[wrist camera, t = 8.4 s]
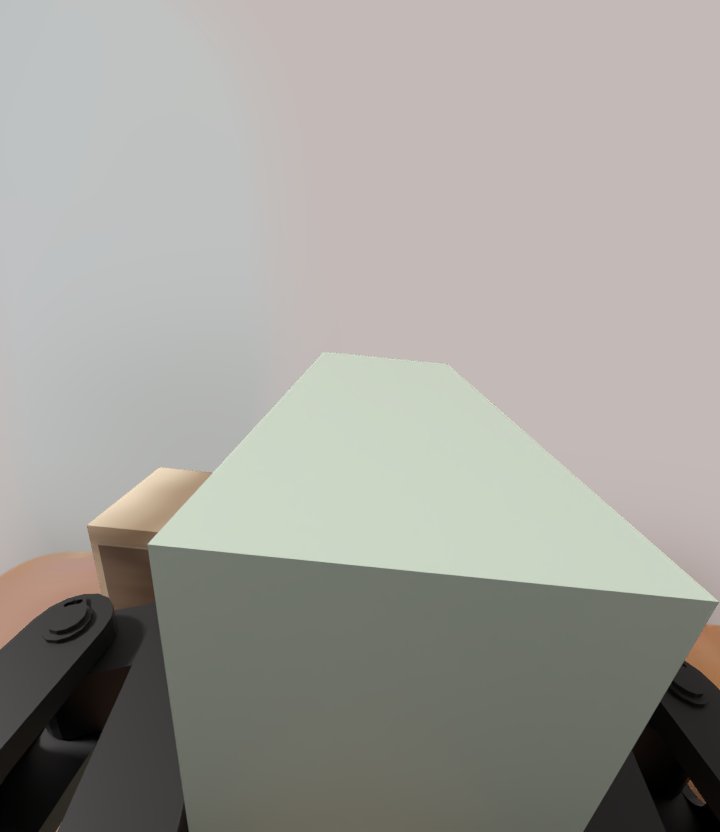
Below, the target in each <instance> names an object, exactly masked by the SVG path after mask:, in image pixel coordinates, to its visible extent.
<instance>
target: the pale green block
mask: <svg viewBox="0 0 720 832" xmlns="http://www.w3.org/2000/svg"><path fill="white" fill-rule="evenodd" d="M147 546H148V553H149V560H150V567H151V574H152V580H153V587H154V594H155V601H156V608H157V615H158V622H159V629H160V636H161V643H162V650H163V657H164V664H165V671H166V678H167V684H168V691H169V698H170V705H171V712H172V719H173V726H174V733H175V740H176V747H177V754H178V761H179V768H180V775H181V781H182V788H183V795H184V802H185V809H186V816H187V823H188V830H189V832H583V831H584V829H585V828H586V826H587V824H588V823H589V821H590V819H591V818H592V816H593V814H594V813H595V811H596V809H597V807H598V806H599V804H600V802H601V801H602V799H603V797H604V796H605V794H606V792H607V791H608V789H609V787H610V785H611V784H612V782H613V780H614V779H615V777H616V775H617V774H618V772H619V770H620V769H621V767H622V765H623V764H624V762H625V760H626V758H627V757H628V755H629V753H630V752H631V750H632V748H633V747H634V745H635V743H636V742H637V740H638V738H639V736H640V735H641V733H642V731H643V730H644V728H645V726H646V725H647V723H648V721H649V720H650V718H651V716H652V714H653V713H654V711H655V709H656V708H657V706H658V704H659V703H660V701H661V699H662V698H663V696H664V694H665V692H666V691H667V689H668V687H669V686H670V684H671V682H672V681H673V679H674V677H675V676H676V674H677V672H678V671H679V669H680V667H681V665H682V664H683V662H684V660H685V659H686V657H687V655H688V654H689V652H690V650H691V649H692V647H693V645H694V643H695V642H696V640H697V638H698V637H699V635H700V633H701V632H702V630H703V628H704V627H705V625H706V623H707V621H708V620H709V618H710V616H711V615H712V613H713V611H714V610H715V608H716V606H717V605H718V603H719V601H718V600H716V599H715V598H714V597H713V596H712V595H710V594H709V593H708V592H707V591H706V590H705V589H704V588H703V587H702V586H700V585H699V584H698V583H697V582H696V581H695V580H694V579H692V578H691V577H690V576H689V575H688V574H687V573H686V572H684V571H683V570H682V569H681V568H680V567H679V566H678V565H676V564H675V563H674V562H673V561H672V560H671V559H669V558H668V557H667V556H666V555H665V554H664V553H663V552H662V551H660V550H659V549H658V548H657V547H656V546H655V545H654V544H652V543H651V542H650V541H649V540H648V539H647V538H645V537H644V536H643V535H642V534H641V533H640V532H639V531H638V530H636V529H635V528H634V527H633V526H632V525H631V524H629V523H628V522H627V521H626V520H625V519H624V518H623V517H622V516H620V515H619V514H618V513H617V512H616V511H615V510H614V509H612V508H611V507H610V506H609V505H608V504H607V503H606V502H604V501H603V500H602V499H601V498H600V497H599V496H598V495H596V494H595V493H594V492H593V491H592V490H590V488H588V487H587V486H586V485H585V484H584V483H583V482H582V481H580V480H579V479H578V478H577V477H576V476H575V475H574V474H572V473H571V472H570V471H569V470H568V469H567V468H566V467H564V466H563V465H562V464H561V463H560V462H559V461H557V460H556V459H555V458H554V457H553V456H552V455H551V454H550V453H548V452H547V451H546V450H545V449H544V448H543V447H541V446H540V445H539V444H538V443H537V442H536V441H535V440H534V439H532V438H531V437H530V436H529V435H528V434H527V433H525V432H524V431H523V430H522V429H521V428H520V427H519V426H518V425H516V424H515V423H514V422H513V421H512V420H511V419H510V418H508V417H507V416H506V415H505V414H504V413H503V412H502V411H500V410H499V409H498V408H497V407H496V406H495V405H494V404H492V403H491V402H490V401H489V400H488V399H487V398H486V397H484V396H483V395H482V394H481V393H480V392H479V391H478V390H476V389H475V388H474V387H473V386H472V385H471V384H470V383H468V382H467V381H466V380H465V379H464V378H463V377H462V376H460V375H459V374H458V373H457V372H456V371H455V370H454V369H452V368H451V367H450V366H449V365H448V364H442V363H432V362H421V361H412V360H401V359H391V358H382V357H371V356H360V355H351V354H341V353H331V352H323V353H322V354H321V355H320V356H319V358H318V359H317V360H316V361H315V362H314V363H313V364H312V365H311V366H310V367H309V368H308V370H307V371H306V372H305V373H304V374H303V375H302V376H301V377H300V378H299V379H298V380H297V382H296V383H295V384H294V385H293V386H292V387H291V388H290V389H289V391H287V392H286V394H285V395H284V396H283V397H282V398H281V399H280V400H279V401H278V402H277V403H276V404H275V406H274V407H273V408H272V409H271V410H270V411H269V412H268V413H267V414H266V416H264V418H263V419H262V420H261V421H260V422H259V423H258V424H257V425H256V426H255V427H254V428H253V430H252V431H251V432H250V433H249V434H248V435H247V436H246V437H245V438H244V439H243V440H242V442H241V443H240V444H239V445H238V446H237V447H236V448H235V449H234V450H233V452H232V453H231V454H230V455H229V456H228V457H227V458H226V459H225V460H224V461H223V462H222V463H221V465H220V466H219V467H218V468H217V469H216V470H215V471H214V472H213V473H212V474H211V475H210V476H209V478H208V479H207V480H206V481H205V482H204V483H203V484H202V485H201V486H200V487H199V488H198V490H197V491H196V492H195V493H194V494H193V495H192V496H191V497H190V498H189V499H188V500H187V502H186V503H185V504H184V505H183V506H182V507H181V508H180V509H179V510H178V511H177V512H176V514H175V515H174V516H173V517H172V518H171V519H170V520H169V521H168V522H167V523H166V524H165V526H164V527H163V528H162V529H161V530H160V531H159V532H158V533H157V534H156V535H155V536H154V538H153V539H152V540H151V541H150V542H149V543H148V544H147Z"/></svg>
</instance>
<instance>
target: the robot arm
mask: <svg viewBox="0 0 720 832" xmlns="http://www.w3.org/2000/svg"><path fill="white" fill-rule="evenodd" d="M689 780H691V781H692V782H693V784H694V785H695V787H696V788H697V790H698V791H699V793H700V794H701V796H702V797H703V798H704V800H705V801H706V805H705V804H704V803H703V802H702V801H701V800H699V799H698V798H697V796H696V795H695V794H694V793H693V791H692V790H691V789H690V787H689V786H688V784H687V783H688V782H689ZM61 822H62V823H61ZM60 824H61V825H60ZM59 825H60V827H59ZM58 827H59V829H58ZM57 829H58V832H189V830H188V823H187V816H186V809H185V802H184V795H183V788H182V781H181V775H180V768H179V761H178V754H177V747H176V740H175V733H174V726H173V719H172V712H171V705H170V698H169V691H168V684H167V678H166V671H165V664H164V657H163V650H162V643H161V636H160V629H159V622H158V615H157V608H156V602H155V603H151V604H147V605H141V606H136V607H130V608H124V609H118V610H114V606H113V604H112V602H111V601H110V599H109V598H108V597H106V596H103V595H100V594H83V595H79V596H76V597H72V598H68V599H66V600H64V601H62V602H60V603H58V604H56V605H54V606H52V607H50V608H48V609H47V610H46V611H44V612H43V613H42V614H40V615H39V616H38V617H36V618H35V619H34V620H33V621H31V622H30V623H29V624H28V625H27V626H26V627H25V628H24V629H23V630H22V631H20V632H19V633H18V634H17V635H16V636H15V637H14V638H13V639H12V640H11V641H9V642H8V643H7V644H6V645H5V646H4V647H3V648H2V649H1V650H0V832H56V830H57ZM583 832H720V690H719V689H718V688H717V687H716V686H715V685H714V684H713V683H712V682H711V681H710V680H709V679H708V678H707V677H706V676H705V675H703V674H702V673H701V672H700V671H699V670H697V669H696V668H694V667H693V666H692V665H690V664H689V663H687V662H686V661H684V662H683V664H682V665H681V667H680V669H679V671H678V672H677V674H676V676H675V677H674V679H673V681H672V682H671V684H670V686H669V687H668V689H667V691H666V692H665V694H664V696H663V698H662V699H661V701H660V703H659V704H658V706H657V708H656V709H655V711H654V713H653V714H652V716H651V718H650V720H649V721H648V723H647V725H646V726H645V728H644V730H643V731H642V733H641V735H640V736H639V738H638V740H637V742H636V743H635V745H634V747H633V748H632V750H631V752H630V753H629V755H628V757H627V758H626V760H625V762H624V764H623V765H622V767H621V769H620V770H619V772H618V774H617V775H616V777H615V779H614V780H613V782H612V784H611V785H610V787H609V789H608V791H607V792H606V794H605V796H604V797H603V799H602V801H601V802H600V804H599V806H598V807H597V809H596V811H595V813H594V814H593V816H592V818H591V819H590V821H589V823H588V824H587V826H586V828H585V829H584V831H583Z"/></svg>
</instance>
